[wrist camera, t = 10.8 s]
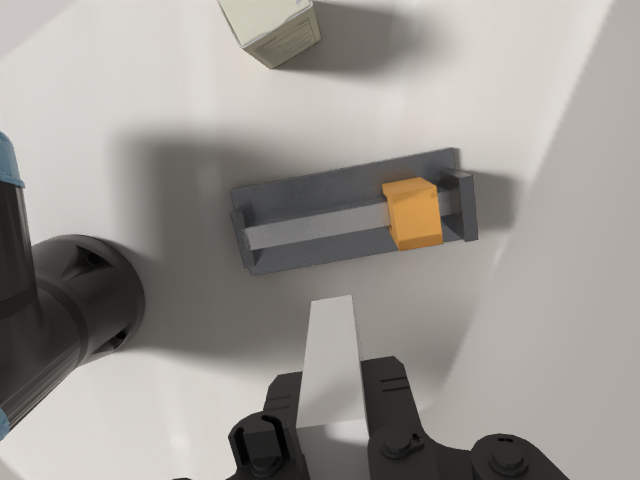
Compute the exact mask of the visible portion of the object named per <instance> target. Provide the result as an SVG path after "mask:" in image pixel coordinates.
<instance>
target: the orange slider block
mask: <svg viewBox="0 0 640 480" xmlns="http://www.w3.org/2000/svg"><path fill="white" fill-rule="evenodd" d="M382 187H383V193H384V195H385V196H386V197H387V201H388V207H389V214H390V221H391V225H389V233H390V234H391V236H392V238H393V240H394V242H395V244H396V245H397V247H398V249H399V251H404V250H410V249H416V248H421V247H427V246H433V245H439V244H443V238H442V230H441V221H440V213H439V205H438V196H437V188H436V186H435V185H434V184H432V183H430V182H428V181H426V180H425V179H423V178H421V177H416V178H411V179H406V180H401V181H395V182H390V183H385V184H382Z"/></svg>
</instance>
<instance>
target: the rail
mask: <svg viewBox="0 0 640 480" xmlns="http://www.w3.org/2000/svg"><path fill="white" fill-rule="evenodd" d="M416 177H421V178H423V179H425V180H426V181H428V182H430V183H432V184H434V185H435V186H436V188H437V196H438V205H439V213H440V221H441V230H442V238H443V243H444V242H449V241H455V240H461V239H463V240H464V241H465V242H468V241H474V240H479V239H478V229H477V218H476V207H475V197H474V186H473V176H472V175H470V174H467V173H464V172H461V171H458V170H455V163H454V154H453V148H451V147H449V148H444V149H439V150H434V151H429V152H423V153H418V154H413V155H408V156H403V157H398V158H392V159H387V160H382V161H377V162H372V163H366V164H361V165H356V166H351V167H346V168H341V169H335V170H330V171H325V172H320V173H315V174H310V175H304V176H299V177H294V178H289V179H284V180H278V181H273V182H268V183H263V184H258V185H253V186H247V187H242V188H237V189H232V190H230V193H231V197H232V201H233V205H234V209H235V210H234V211H233V212H232V213H231V218H232V222H233V226H234V230H235V233H236V237H237V241H238V245H239V249H240V253H241V257H242V261H243V265H244V268H248V267H249V268H250V272H251V275H252V276H254V275H260V274H266V273H271V272H277V271H283V270H289V269H294V268H300V267H306V266H312V265H317V264H323V263H329V262H335V261H340V260H346V259H352V258H357V257H363V256H369V255H375V254H380V253H386V252H392V251H398V250H399V249H398V247H397V245H396V244H395V242H394V240H393V238H392V236H391V234H390V233H389V225H391V221H390V214H389V207H388V201H387V197H386V196H385V195H384V193H383V187H382V184H385V183H390V182H395V181H401V180H406V179H411V178H416Z"/></svg>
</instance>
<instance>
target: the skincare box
mask: <svg viewBox="0 0 640 480" xmlns="http://www.w3.org/2000/svg"><path fill="white" fill-rule="evenodd" d="M217 2H218V4H219V6H220V9H221V11H222V13H223V15H224V17H225V19H226V21H227V23H228V25H229V27H230V29H231V31H232V33H233V35H234V37H235V39H236V41H237V43H238V45H239V46H240V48H242V49H243V50H244V51H246V52H247V53H249V54H250V55H251V56H253V57H254V58H255V59H257V60H258V61H260V62H261V63H262V64H264V65H265V66H266V67H268V68H269V69H272V68H274V67H276V66H278V65H280V64H281V63H283V62H285V61H287V60H289V59H290V58H292V57H294V56H295V55H297V54H299V53H300V52H302V51H304V50H305V49H307V48H308V47H310V46H312V45H313V44H315V43H316V42H318V41H319V40H321V35H320V31H319V27H318V23H317V19H316V15H315V11H314V6H313V3H312V1H311V0H217Z"/></svg>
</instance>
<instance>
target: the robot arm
mask: <svg viewBox="0 0 640 480" xmlns="http://www.w3.org/2000/svg"><path fill="white" fill-rule="evenodd" d="M23 188H25V184H24V182H23V181H22V180H20V175H19V170H18V166H17V161H16V156H15V152H14V147H13V145H12V143H11V141H10V139H9V138H8V137H7V136H6V135H5V134H4V133H3V132H1V131H0V441H1V440H2V439H4V437H5V436H6V435H7V434H8V433H9V432H10V431H11V430H12V429H13V428H14V427H15V426H16V425H17V424H18V423H19V422H20V421H21V420H22V419H23V418H24V417H25V416H26V415H27V414H28V413H30V412H31V411H32V410H33V409H34V408H35V407H36V406H37V405H38V404H39V403H40V402H41V401H42V400H43V399H44V398H45V397H46V396H47V395H48V394H49V393H50V392H51V391H52V390H53V389H54V388H55V387H56V386H57V385H58V384H60V383H61V382H62V381H63V380H64V379H65V378H66V377H67V376H68V375H69V374H70V373H71V372H72V371H73V370H74V369H75V368H77V367H79V366H82V365H84V364H87V363H89V362H92V361H94V360H97V359H99V358H102V357H104V356H106V355H109V354H111V353H112V352H114V351H115V350H117V349H118V348H120V347H121V346H122V345H123V344H124V343H125V342H126V341H127V340H128V339H129V338H130V337H131V336H132V335H133V334H134V333H135V331H136V330H137V328H138V327H139V325H140V323H141V320H142V317H143V313H144V305H145V301H144V292H143V288H142V285H141V282H140V280H139V277H138V275H137V274H136V272H135V270H134V269H133V267H132V266H131V264H130V263H129V262H128V261H127V260H126V259H125V258H124V257H123V256H122V255H121V254H120V253H119V252H118V251H116V250H115V249H114V248H112V247H111V246H109V245H107V244H105V243H104V242H101V241H99V240H97V239H94V238H91V237H87V236H81V235H62V236H57V237H53V238H50V239H48V240H45V241H43V242H40V243H38V244H35V245H34V246H32V247H31V242H30V235H29V228H28V221H27V214H26V207H25V200H24V194H23ZM228 439H229V442H230V445H231V448H232V452H233V455H234V458H235V462H236V465H237V470H236V473H235V474H234V475H233V476H231V477H230V478H228V479H226V480H569V479H568V478H567V477H566V476H565V475H564V474H563V473H562V472H561V471H560V470H559V469H558V468H557V467H556V466H555V465H554V464H553V463H552V462H551V461H550V460H549V459H548V458H547V457H546V456H545V455H544V454H543V453H542V452H541V451H540V450H539V449H538V448H537V447H535V446H534V445H533V444H531V443H530V442H528V441H527V440H524V439H522V438H520V437H517V436H514V435H508V434H500V433H499V434H493V435H488V436H485V437H483V438H481V439H480V440H478V441H477V442H476V443H475V445H474V446H473V448H472V449H471V451H468V450H461V449H454V448H450V447H446V446H444V445H441V444H439V443H437V442H435V441H434V440H433V439H431V438H430V437H429V436H428V435H427V434H426V433H425V431H424V429H423V427H422V425H421V422H420V419H419V415H418V412H417V408H416V405H415V401H414V398H413V395H412V391H411V389H410V385H409V381H408V379H407V375H406V371H405V368H404V365H403V364H402V363H401V362H400V361H399V360H397V359H396V358H395V357H394V356H390V357H384V358H377V359H371V360H364V359H363V354H362V348H361V343H360V337H359V332H358V327H357V321H356V316H355V311H354V305H353V300H352V295H345V296H339V297H333V298H327V299H321V300H315V301H312V302H311V310H310V318H309V326H308V334H307V342H306V350H305V358H304V366H303V371H300V372H294V373H287V374H281V375H278V376H277V377H276V378H275V379H274V381H273V382H272V383H271V384H270V386H269V388H268V392H267V396H266V401H265V404H264V408H263V411H261V412H257V413H254V414H251V415H249V416H247V417H246V418H244V419H242V420H241V421H239V422H238V423H237V424H236V425H235V426H234V427H233V428H232V430H231V432H230V433H229V435H228ZM173 480H191V479H188V478H178V479H173Z"/></svg>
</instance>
